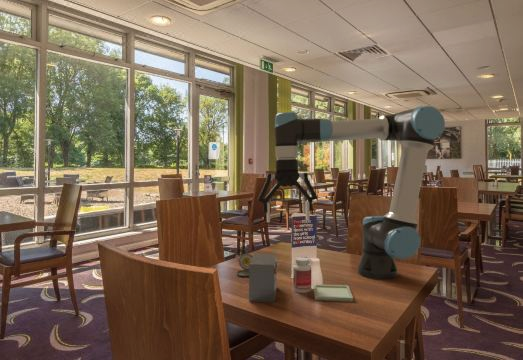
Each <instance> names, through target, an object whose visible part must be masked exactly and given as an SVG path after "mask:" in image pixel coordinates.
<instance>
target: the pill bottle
mask: <svg viewBox="0 0 523 360" xmlns="http://www.w3.org/2000/svg"><path fill="white" fill-rule="evenodd" d="M292 268H293V274H292V275H293V287H292V288H293V290H294V292H296V293H299V294H300V293H301V294H304V293H305V294H306V293H310V292H311V291H312V266H311V265H310V258H308V257H306V256H305V257H300V256H299V257H296V258H295V264H294V265H293V267H292Z"/></svg>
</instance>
